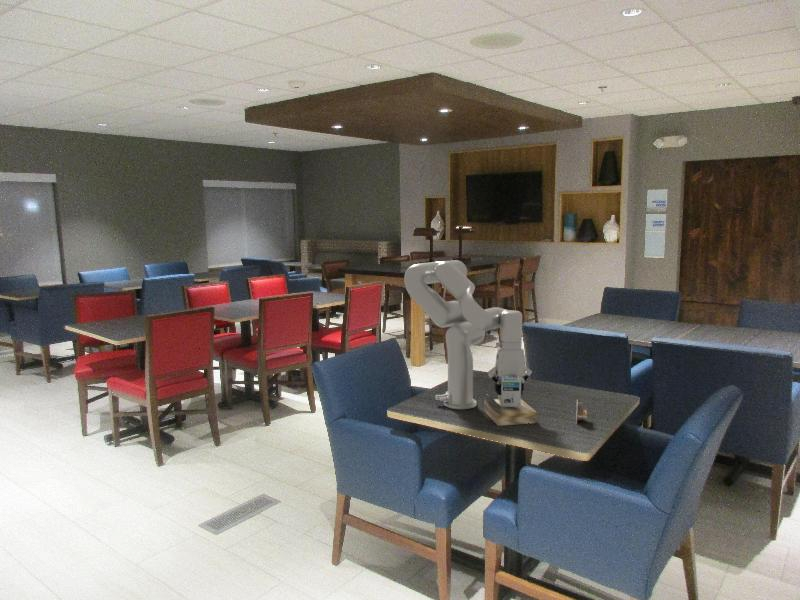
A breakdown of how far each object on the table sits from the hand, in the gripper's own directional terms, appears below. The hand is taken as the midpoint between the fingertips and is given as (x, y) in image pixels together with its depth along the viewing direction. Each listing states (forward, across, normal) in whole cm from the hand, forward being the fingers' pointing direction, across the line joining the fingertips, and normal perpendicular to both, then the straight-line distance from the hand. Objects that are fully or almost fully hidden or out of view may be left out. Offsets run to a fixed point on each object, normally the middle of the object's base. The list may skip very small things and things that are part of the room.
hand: (509, 393), depth 210 cm
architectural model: (+9, +23, -9) cm, 26 cm away
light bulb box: (+4, 0, 0) cm, 4 cm away
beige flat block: (+9, 0, 0) cm, 9 cm away
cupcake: (+9, +9, +32) cm, 34 cm away
